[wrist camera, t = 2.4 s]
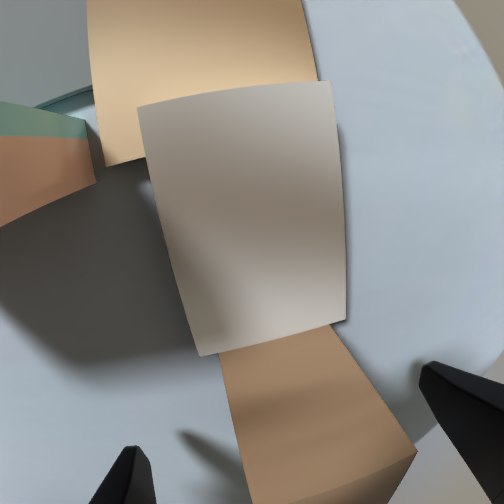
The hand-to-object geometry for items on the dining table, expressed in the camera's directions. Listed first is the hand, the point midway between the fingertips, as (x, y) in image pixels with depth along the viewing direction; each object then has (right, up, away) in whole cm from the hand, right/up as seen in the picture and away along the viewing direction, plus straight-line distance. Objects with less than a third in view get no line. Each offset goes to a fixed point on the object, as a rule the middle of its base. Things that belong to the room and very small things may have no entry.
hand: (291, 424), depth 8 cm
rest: (-3, +11, -2) cm, 11 cm away
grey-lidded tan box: (-1, +3, 0) cm, 3 cm away
